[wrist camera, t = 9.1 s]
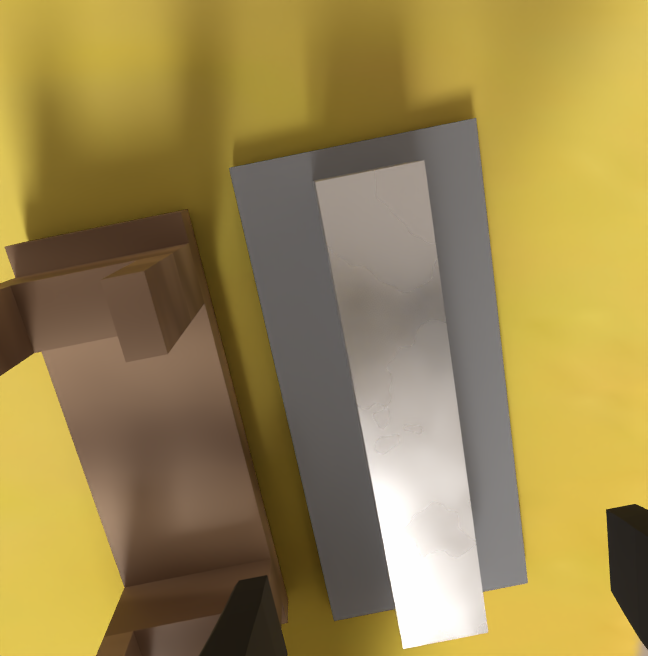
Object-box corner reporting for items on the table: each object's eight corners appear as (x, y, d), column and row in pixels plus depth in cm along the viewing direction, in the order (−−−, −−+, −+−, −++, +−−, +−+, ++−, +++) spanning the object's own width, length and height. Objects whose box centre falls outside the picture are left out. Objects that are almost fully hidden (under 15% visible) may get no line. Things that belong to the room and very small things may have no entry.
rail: (463, 572, 22) (488, 632, 19) (389, 587, 22) (403, 648, 19) (403, 162, 18) (424, 160, 15) (312, 180, 18) (315, 182, 15)
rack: (288, 599, 23) (284, 761, 16) (154, 626, 23) (100, 797, 16) (187, 208, 18) (131, 226, 12) (22, 242, 18) (-119, 277, 12)
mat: (522, 574, 23) (527, 583, 22) (333, 611, 23) (334, 620, 22) (471, 119, 18) (475, 118, 18) (230, 168, 18) (229, 167, 18)
